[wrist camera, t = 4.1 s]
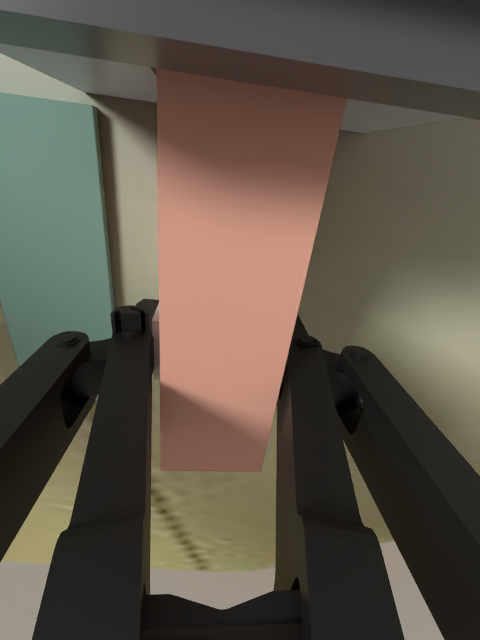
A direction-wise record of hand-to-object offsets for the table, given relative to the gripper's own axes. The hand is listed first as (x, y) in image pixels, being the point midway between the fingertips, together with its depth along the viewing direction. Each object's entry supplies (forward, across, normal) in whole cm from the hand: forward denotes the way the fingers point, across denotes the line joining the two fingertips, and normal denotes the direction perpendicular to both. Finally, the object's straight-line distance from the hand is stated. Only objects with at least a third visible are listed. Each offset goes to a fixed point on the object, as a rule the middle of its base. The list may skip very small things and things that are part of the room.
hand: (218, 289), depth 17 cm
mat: (+1, -9, 0) cm, 9 cm away
